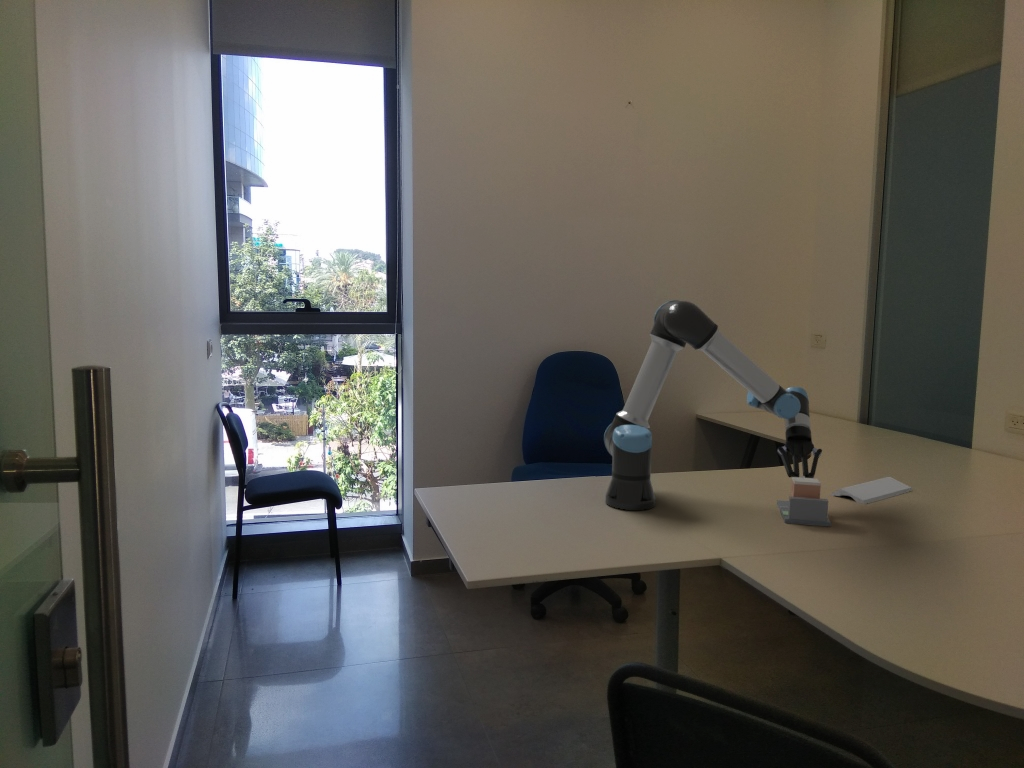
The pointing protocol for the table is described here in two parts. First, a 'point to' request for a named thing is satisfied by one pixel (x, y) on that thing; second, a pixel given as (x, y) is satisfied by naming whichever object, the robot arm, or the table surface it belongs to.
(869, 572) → the table surface
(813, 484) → the orange box with lid
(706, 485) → the table surface
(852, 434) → the table surface
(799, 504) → the base
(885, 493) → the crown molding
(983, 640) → the table surface
